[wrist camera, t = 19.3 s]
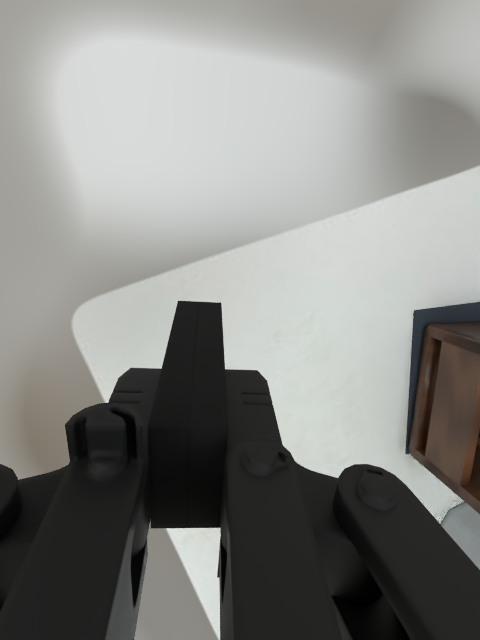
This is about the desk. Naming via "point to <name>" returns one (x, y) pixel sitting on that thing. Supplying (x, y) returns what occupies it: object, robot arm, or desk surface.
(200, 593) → the desk surface
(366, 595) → the robot arm
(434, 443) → the rack
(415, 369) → the mat
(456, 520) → the coffee maker
